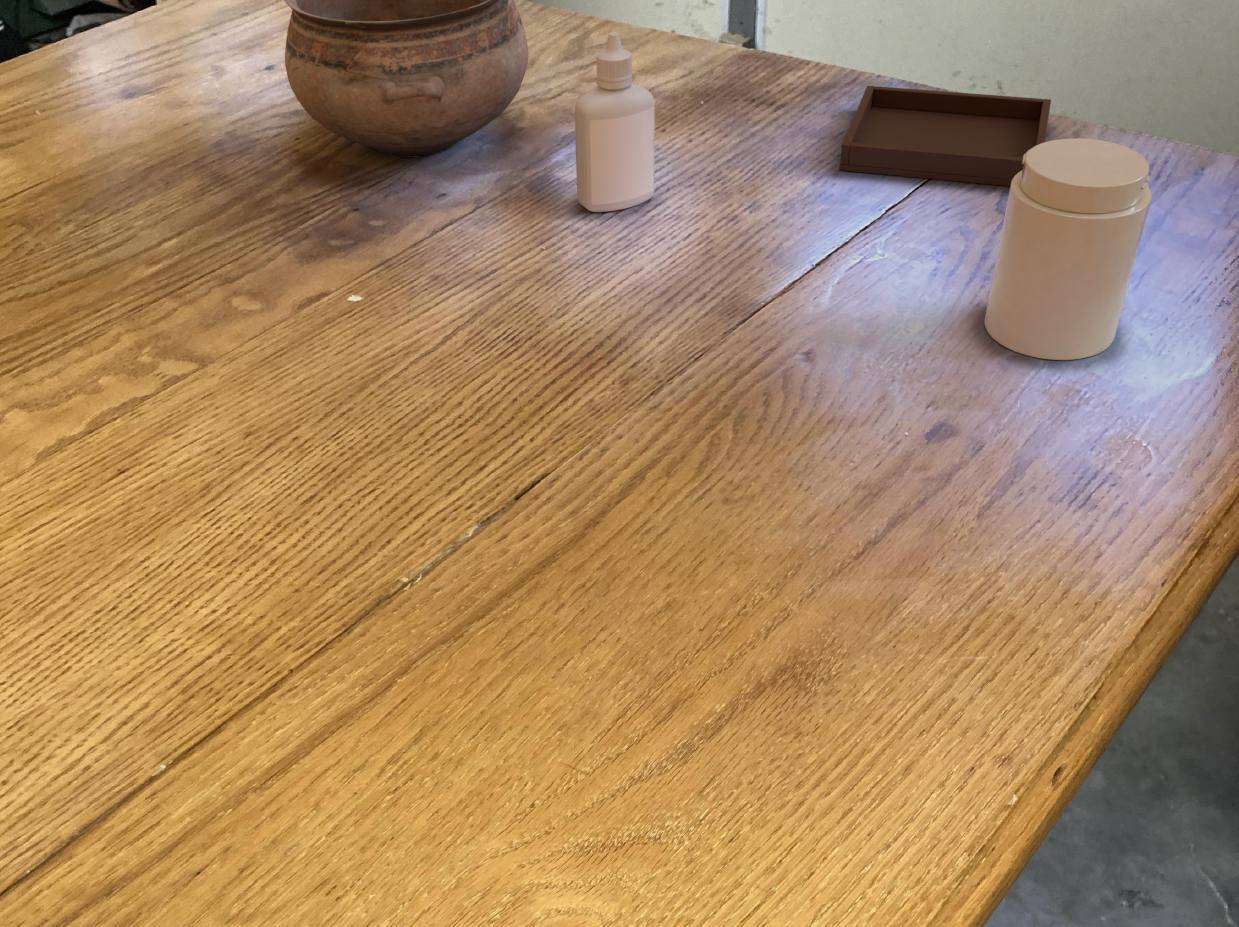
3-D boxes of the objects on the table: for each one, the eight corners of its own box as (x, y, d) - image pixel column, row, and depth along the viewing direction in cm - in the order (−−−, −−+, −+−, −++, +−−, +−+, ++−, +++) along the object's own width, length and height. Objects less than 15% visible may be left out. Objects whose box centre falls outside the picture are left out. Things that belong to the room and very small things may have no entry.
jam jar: (1115, 305, 82) (1159, 140, 76) (1113, 368, 77) (1159, 196, 70) (989, 291, 85) (1020, 129, 78) (978, 351, 79) (1011, 183, 72)
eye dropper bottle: (653, 213, 95) (654, 44, 87) (575, 214, 96) (570, 45, 88) (654, 187, 99) (656, 22, 91) (579, 188, 99) (574, 23, 91)
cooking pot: (555, 192, 99) (547, 24, 91) (301, 220, 97) (271, 51, 89) (512, 75, 118) (502, -73, 110) (299, 96, 116) (274, -52, 108)
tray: (1046, 124, 104) (1051, 99, 103) (1036, 189, 95) (1042, 162, 94) (864, 109, 108) (867, 85, 107) (839, 170, 99) (842, 144, 98)
